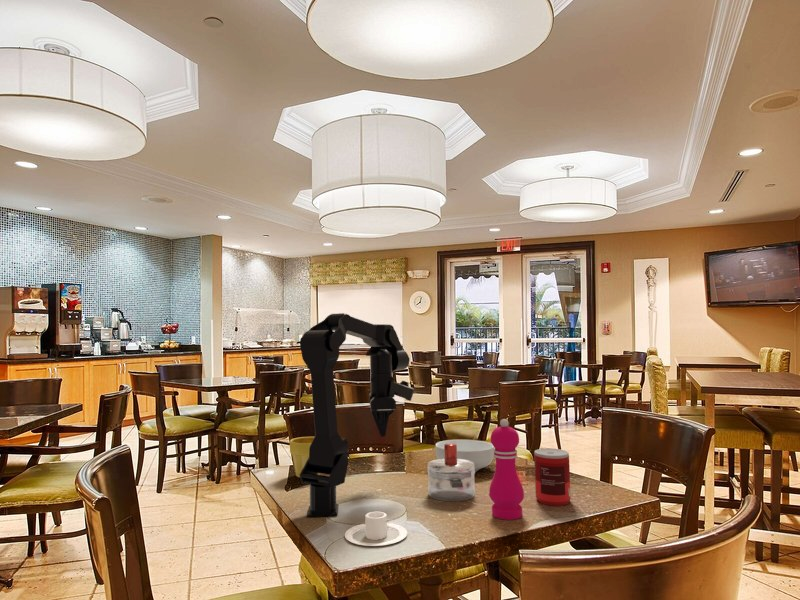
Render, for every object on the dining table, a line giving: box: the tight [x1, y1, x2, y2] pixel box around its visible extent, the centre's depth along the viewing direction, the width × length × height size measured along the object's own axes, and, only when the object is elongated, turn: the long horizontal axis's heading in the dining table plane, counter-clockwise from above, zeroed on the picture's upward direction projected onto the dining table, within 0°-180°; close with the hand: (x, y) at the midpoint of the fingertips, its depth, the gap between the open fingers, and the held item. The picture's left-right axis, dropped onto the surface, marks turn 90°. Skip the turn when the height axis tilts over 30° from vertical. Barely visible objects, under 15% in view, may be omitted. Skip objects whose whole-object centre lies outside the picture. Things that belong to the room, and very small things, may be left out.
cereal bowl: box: [434, 439, 495, 473], centre depth 151 cm, size 17×17×7 cm
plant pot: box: [289, 436, 322, 478], centre depth 148 cm, size 10×10×10 cm
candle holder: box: [344, 511, 408, 547], centre depth 102 cm, size 12×12×4 cm
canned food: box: [533, 447, 571, 507], centre depth 122 cm, size 8×8×11 cm
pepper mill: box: [488, 418, 525, 521], centre depth 113 cm, size 7×7×20 cm
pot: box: [427, 468, 476, 502], centre depth 128 cm, size 16×11×6 cm
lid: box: [427, 444, 474, 474], centre depth 128 cm, size 11×11×6 cm
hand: (382, 433), depth 138 cm, fingers open, 9 cm apart
